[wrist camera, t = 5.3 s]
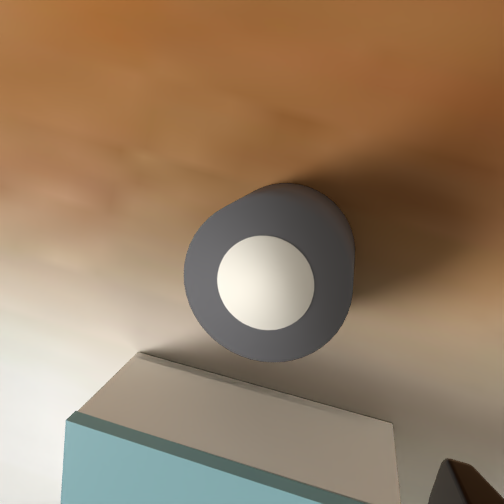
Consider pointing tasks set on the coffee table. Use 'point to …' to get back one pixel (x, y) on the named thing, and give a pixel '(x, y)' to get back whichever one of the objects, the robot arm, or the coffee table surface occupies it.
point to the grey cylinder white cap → (272, 273)
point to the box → (254, 427)
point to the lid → (165, 472)
